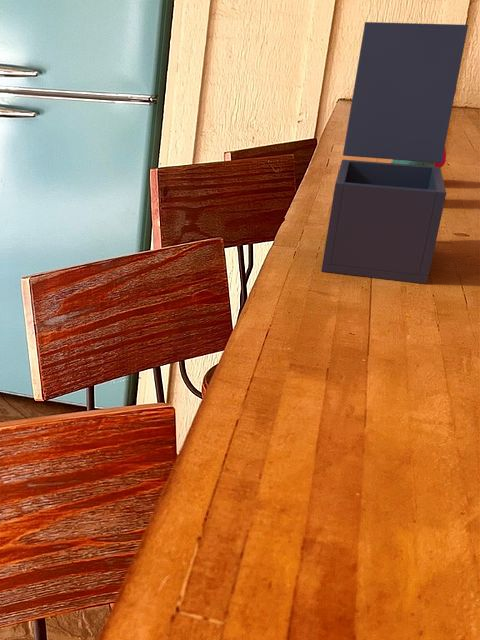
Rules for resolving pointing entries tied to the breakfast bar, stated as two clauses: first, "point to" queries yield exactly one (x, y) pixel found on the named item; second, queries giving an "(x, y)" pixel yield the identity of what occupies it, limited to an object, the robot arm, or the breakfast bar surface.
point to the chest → (384, 220)
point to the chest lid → (404, 90)
